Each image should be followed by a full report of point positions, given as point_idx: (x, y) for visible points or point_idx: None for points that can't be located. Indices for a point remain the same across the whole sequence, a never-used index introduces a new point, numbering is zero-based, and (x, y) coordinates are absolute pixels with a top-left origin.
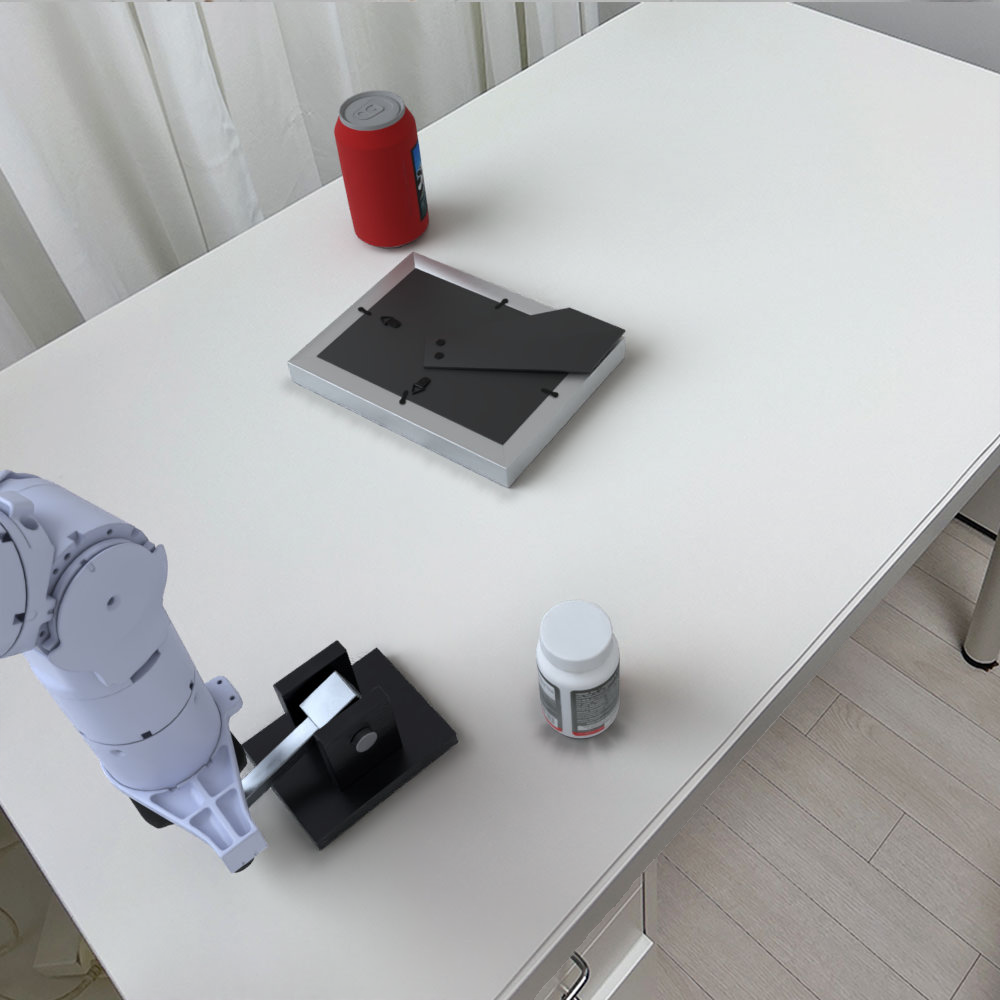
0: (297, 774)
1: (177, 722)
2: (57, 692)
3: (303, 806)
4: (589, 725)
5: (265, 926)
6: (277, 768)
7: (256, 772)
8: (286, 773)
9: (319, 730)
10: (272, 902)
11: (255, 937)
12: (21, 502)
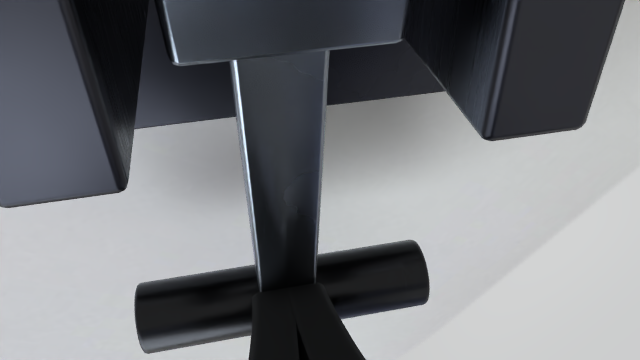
0: None
1: None
2: None
3: (353, 73)
4: None
5: (469, 209)
6: (319, 185)
7: (273, 230)
8: (225, 67)
9: (508, 108)
10: (444, 185)
11: (470, 227)
12: None
